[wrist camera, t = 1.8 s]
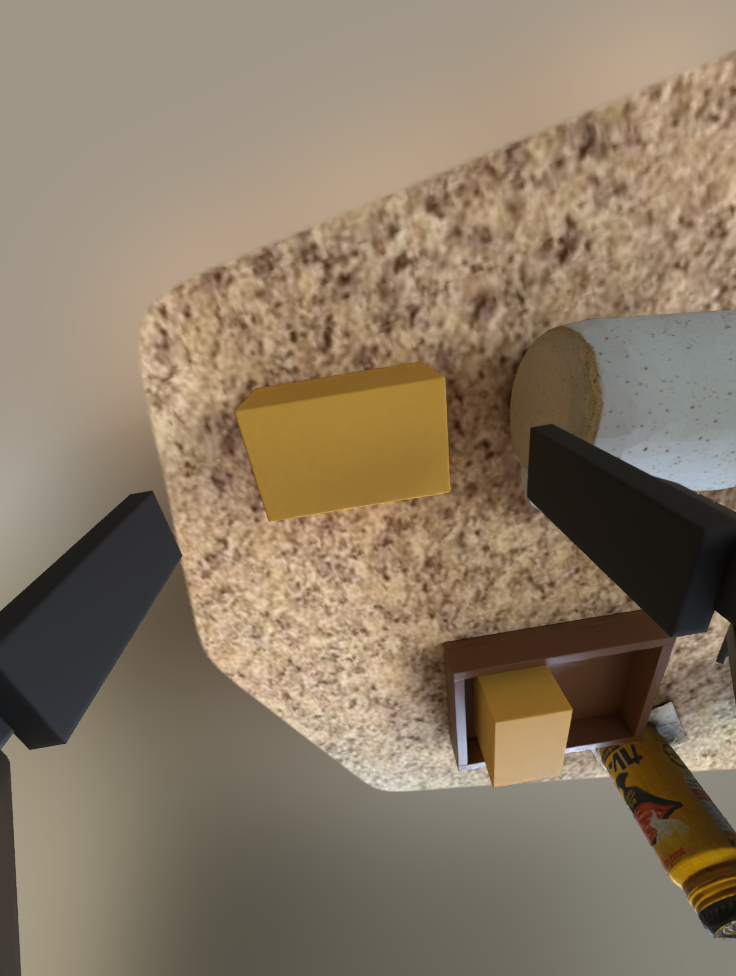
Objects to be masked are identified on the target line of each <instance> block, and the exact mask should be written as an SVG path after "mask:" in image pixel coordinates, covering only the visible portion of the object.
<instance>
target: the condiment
mask: <svg viewBox="0 0 736 976" xmlns="http://www.w3.org/2000/svg"><path fill="white" fill-rule="evenodd" d="M687 740H689V739H688V737H687V735H686V733H685V731H684V729H683V727H682V725H681V723H680V720H679V718H678V717H677V713H676V711H675V709H674V706H673V704H672V702H670V703H667V704H665V705H664V706H661V707H657V708H655V709H653V710H652V711H651V713H650V716H649V719H648V722H647V725H646V728H645V731H644V734H643V737H642V740H641V741H636V742H630V743H624V744H618V745H612V746H606V747H600V748H594V749H590V750H591V751H592V753H593V754H594V756H595V757H596V759H597V760H598V761H599V763H600V764H601V766H602V767H603V769H604V770H605V771H607V772H608V773H609V775H610V776H611V778H612V780H613V781H614V784H615V785H616V787H617V789H618V790H619V792H620V793H621V795H622V797H623V798H624V801H625V802H626V805H627V806H628V807H629V809H630V811H631V812H632V814H633V816H634V818H635V819H636V821H637V823H638V825H639V826H640V828H641V830H642V831H643V833H644V835H645V837H646V838H647V840H648V842H649V844H650V845H651V847H652V849H653V850H654V852H655V854H656V855H657V857H658V858H659V860H660V862H661V864H662V866H663V868H664V869H665V871H666V872H667V875H668V876H669V878H670V879H671V880H672V881H673V882H674V883H675V884H676V885H678V886H679V887H680V888H681V889H683V890H684V892H685V894H686V898H687V900H688V901H689V903H690V904H691V905H692V906H693V908H694V910H695V911H696V913H697V914H698V917H699V919H700V920H701V923H702V925H703V926H704V928H705V929H706V930H707V931H708V932H709V933H710V934H711V935H712V936H714V938H720V939H734V938H736V832H735V830H734V829H733V828H732V827H731V825H730V824H729V822H728V821H727V819H726V818H725V817H724V816H723V815H722V813H721V812H720V811H719V809H718V808H717V807H716V805H715V804H714V803H713V802H712V800H711V799H710V797H709V796H708V795H707V794H706V792H705V791H704V790H703V788H702V787H701V786H700V784H699V783H698V782H697V780H696V779H695V778H694V776H693V775H692V773H691V772H690V770H689V769H688V768H687V767H686V765H685V764H684V763H683V761H682V760H681V759H680V757H679V756H678V755H677V753H676V752H675V751H674V750H673V748H672V747H671V746H672V745H677V744H680V743H682V742H684V741H687Z"/></svg>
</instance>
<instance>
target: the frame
mask: <svg viewBox="0 0 736 976" xmlns="http://www.w3.org/2000/svg"><path fill="white" fill-rule="evenodd" d="M675 640H676V637H674V638H671V637H670V636H669V635H668V634H667V633H666V632H665V631H664V630H663V629H662V628H661V627H660V626H659V625H658V624H657V623H656V622H655V621H654V620H653V619H652V618H651V617H650V616H649V615H648V614H647V613H645V612H644V611H643V610H639V611H633V612H627V613H621V614H615V615H609V616H603V617H597V618H591V619H585V620H579V621H573V622H567V623H561V624H555V625H549V626H543V627H537V628H531V629H525V630H519V631H513V632H507V633H500V634H494V635H488V636H482V637H476V638H470V639H464V640H458V641H452V642H446V643H443V646H444V660H445V673H446V687H447V701H448V714H449V728H450V740H451V744H452V748H453V751H454V755H455V759H456V763H457V767H458V770H459V771H463V770H469V769H475V768H481V767H486V764H485V761H484V758H483V754H482V751H481V748H480V745H479V742H478V739H477V736H476V733H475V730H474V696H473V677H479V676H485V675H491V674H497V673H503V672H509V671H515V670H521V669H527V668H533V667H539V666H545V665H547V666H548V668H549V670H550V672H551V673H552V675H553V677H554V678H555V680H556V682H557V684H558V685H559V687H560V689H561V690H562V692H563V694H564V696H565V697H566V699H567V701H568V702H569V704H570V706H571V708H572V710H573V711H572V716H571V722H570V727H569V733H568V739H567V744H566V750H565V753H570V752H576V751H582V750H588V749H594V748H600V747H606V746H612V745H618V744H624V743H630V742H636V741H641V740H642V737H643V734H644V731H645V728H646V725H647V722H648V719H649V716H650V713H651V710H652V707H653V704H654V701H655V699H656V696H657V693H658V690H659V687H660V684H661V681H662V678H663V675H664V672H665V669H666V666H667V663H668V660H669V657H670V654H671V651H672V649H673V646H674V643H675Z"/></svg>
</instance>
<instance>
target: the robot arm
mask: <svg viewBox="0 0 736 976" xmlns="http://www.w3.org/2000/svg"><path fill="white" fill-rule="evenodd" d="M527 498H528V499H529V500H530V501H531V502H532V503H533V504H534V505H535V506H536V507H537V508H538V509H539V510H540V511H541V512H542V513H543V514H544V515H545V516H546V517H547V518H548V519H550V520H551V521H552V522H553V523H554V524H555V525H556V526H557V527H558V528H559V529H560V530H561V531H562V532H563V533H564V534H565V535H566V536H567V537H568V538H569V539H570V540H571V541H572V542H573V543H574V544H575V545H576V546H577V547H578V548H579V549H580V550H582V551H583V552H584V553H585V554H586V555H587V556H588V557H589V558H590V559H591V560H592V561H593V562H594V563H595V564H596V565H597V566H598V567H599V568H600V569H601V570H602V571H603V572H604V573H605V574H606V575H607V576H608V577H609V578H610V579H611V580H612V581H614V582H615V583H616V584H617V585H618V586H619V587H620V588H621V589H622V590H623V591H624V592H625V593H626V594H627V595H628V596H629V597H630V598H631V599H632V600H633V601H634V602H635V603H636V604H637V605H638V606H639V607H640V608H641V609H642V610H643V611H644V612H645V613H647V614H648V615H649V616H650V617H651V618H652V619H653V620H654V621H655V622H656V623H657V624H658V625H659V626H660V627H661V628H662V629H663V630H664V631H665V632H666V633H667V634H668V635H669V636H670V637H671V638H674V637H680V636H685V635H691V634H697V633H703V632H707V629H708V626H709V623H710V621H711V618H712V615H713V613H714V610H715V611H717V612H718V613H719V614H720V615H722V616H723V617H724V618H725V619H727V620H728V621H729V622H731V623H730V626H729V628H728V631H727V633H726V636H725V638H724V641H723V643H722V646H721V648H720V650H719V653H718V656H717V660H716V662H718V663H722V664H723V663H724V660H725V658H726V657H727V656H729V661H730V668H731V675H732V682H733V689H734V696H735V703H736V512H735V511H733V510H731V509H729V508H727V507H725V506H723V505H721V504H719V503H717V502H716V503H713V502H712V500H711V499H709V498H707V497H705V496H703V495H701V494H699V495H697V492H695V491H693V490H691V489H689V488H687V487H685V486H683V485H681V484H679V483H676V482H673V481H669V480H666V479H662V478H659V477H655V476H652V475H650V474H648V473H646V472H644V471H642V470H641V469H639V468H637V467H635V466H633V465H631V464H629V463H627V462H625V461H623V460H621V459H619V458H617V457H615V456H613V455H612V454H610V453H608V452H606V451H604V450H602V449H600V448H598V447H596V446H594V445H592V444H590V443H588V442H586V441H585V440H583V439H581V438H579V437H577V436H575V435H573V434H571V433H569V432H567V431H565V430H563V429H561V428H559V427H557V426H556V425H554V424H547V425H542V426H536V427H530V443H529V462H528V480H527ZM181 557H182V554H181V552H180V549H179V547H178V545H177V543H176V541H175V539H174V536H173V534H172V532H171V530H170V528H169V525H168V523H167V521H166V519H165V517H164V515H163V512H162V510H161V508H160V506H159V504H158V502H157V499H156V497H155V495H154V493H153V491H147V492H141V493H135V494H130V495H129V496H128V497H127V498H126V499H125V500H123V501H122V502H121V503H120V504H119V505H118V506H117V507H116V508H115V509H113V510H112V511H111V512H110V513H109V514H108V515H107V516H106V517H105V518H104V519H103V520H101V521H100V522H99V523H98V524H97V525H96V526H95V527H94V528H92V529H91V530H90V531H89V532H88V533H87V534H86V535H85V536H83V537H82V538H81V539H80V540H79V541H78V542H77V543H76V544H75V545H73V546H72V547H71V548H70V549H69V550H68V551H67V552H66V553H65V554H63V555H62V556H61V557H60V558H59V559H58V560H57V561H56V562H55V563H53V565H51V566H50V567H49V568H48V569H47V570H46V571H45V572H43V573H42V574H41V575H40V576H39V577H38V578H37V579H36V580H35V581H33V582H32V583H31V584H30V585H29V586H28V587H27V588H26V589H25V590H23V591H22V592H21V593H20V594H19V595H18V596H17V597H16V598H15V599H13V600H12V601H11V602H10V603H9V604H8V605H7V606H6V607H5V608H3V609H2V610H1V611H0V976H21V965H20V945H19V926H18V907H17V888H16V869H15V849H14V831H13V811H12V794H11V793H12V792H11V773H10V761H9V759H8V758H7V756H6V755H5V754H4V753H3V752H2V751H1V748H2V747H3V746H4V745H5V743H6V742H7V741H8V739H9V738H10V737H11V735H12V734H13V733H14V734H15V735H16V736H17V737H18V738H19V739H20V740H21V741H22V742H23V743H24V744H25V746H26V747H27V748H29V750H31V749H37V748H43V747H49V746H55V745H60V744H66V742H67V741H68V739H69V738H70V736H71V734H72V733H73V731H74V729H75V728H76V726H77V725H78V723H79V721H80V720H81V718H82V717H83V715H84V713H85V712H86V710H87V709H88V707H89V705H90V704H91V702H92V700H93V699H94V697H95V696H96V694H97V692H98V691H99V689H100V687H101V686H102V684H103V683H104V681H105V679H106V678H107V676H108V675H109V673H110V671H111V670H112V668H113V667H114V665H115V663H116V662H117V660H118V659H119V657H120V655H121V654H122V652H123V650H124V649H125V647H126V646H127V644H128V642H129V641H130V639H131V638H132V636H133V634H134V633H135V631H136V630H137V628H138V626H139V624H140V623H141V621H142V620H143V618H144V617H145V615H146V613H147V612H148V610H149V608H150V607H151V605H152V603H153V602H154V600H155V599H156V597H157V596H158V594H159V592H160V591H161V589H162V588H163V586H164V584H165V583H166V581H167V580H168V578H169V576H170V575H171V573H172V571H173V570H174V568H175V566H176V565H177V563H178V562H179V560H180V559H181Z"/></svg>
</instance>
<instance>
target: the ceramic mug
mask: <svg viewBox="0 0 736 976" xmlns="http://www.w3.org/2000/svg"><path fill="white" fill-rule="evenodd" d="M547 424H554V425H556V426H557V427H559V428H561V429H563V430H565V431H567V432H569V433H571V434H573V435H575V436H577V437H579V438H581V439H583V440H585V441H586V442H588V443H590V444H592V445H594V446H596V447H598V448H600V449H602V450H604V451H606V452H608V453H610V454H612V455H613V456H615V457H617V458H619V459H621V460H623V461H625V462H627V463H629V464H631V465H633V466H635V467H637V468H639V469H641V470H642V471H644V472H646V473H648V474H650V475H652V476H655V477H659V478H662V479H666V480H669V481H673V482H676V483H679V484H681V485H683V486H685V487H687V488H689V489H691V490H693V491H707V490H720V489H726V488H731V487H734V486H736V310H722V311H709V312H691V313H676V314H662V315H650V316H635V317H618V318H599V319H588V320H584V321H579V322H575V323H570V324H566V325H561V326H558V327H556V328H553V329H551V330H548V331H547V332H546V333H544V334H543V335H542V336H540V337H539V338H538V339H537V340H536V341H535V342H534V343H533V344H532V346H531V347H530V348H529V349H528V351H527V352H526V354H525V356H524V357H523V359H522V361H521V363H520V365H519V367H518V369H517V373H516V376H515V380H514V384H513V388H512V394H511V402H510V430H511V438H512V442H513V447H514V451H515V453H516V456H517V458H518V460H519V463H520V464H521V466H522V471H521V484H522V487H523V490H524V493H525V495H526V497H527V480H528V462H529V443H530V427H536V426H542V425H547ZM527 499H528V498H527ZM528 501H529V502H530V504H531V505H532V506H533V507H534V508H536V509H537V510H539V509H538V508H537V507H536V506H535V505H534V504H533V503H532V502H531V501H530V500H529V499H528ZM539 511H540V510H539Z"/></svg>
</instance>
